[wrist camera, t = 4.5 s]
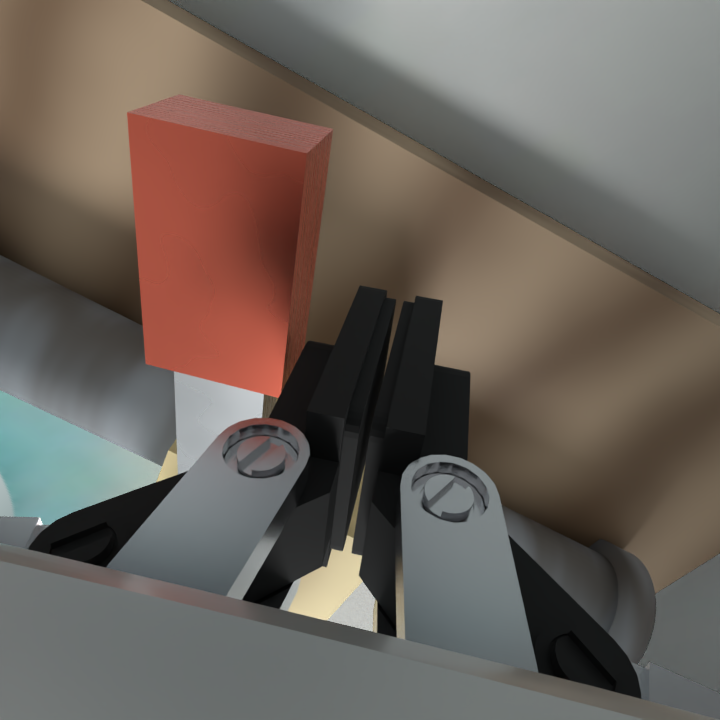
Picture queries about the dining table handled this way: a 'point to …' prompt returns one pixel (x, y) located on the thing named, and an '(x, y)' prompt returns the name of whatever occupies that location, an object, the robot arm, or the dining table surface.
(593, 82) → the dining table surface
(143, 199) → the valve lever
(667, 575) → the pipe board
